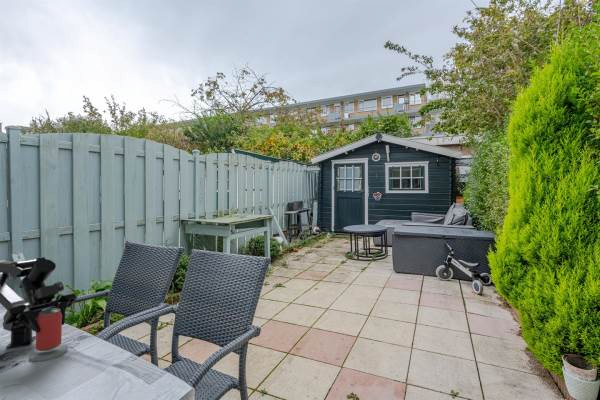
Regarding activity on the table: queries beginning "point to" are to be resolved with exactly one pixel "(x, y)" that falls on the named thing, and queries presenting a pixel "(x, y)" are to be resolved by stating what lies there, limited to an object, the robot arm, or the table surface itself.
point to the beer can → (49, 329)
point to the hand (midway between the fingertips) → (51, 328)
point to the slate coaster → (48, 354)
